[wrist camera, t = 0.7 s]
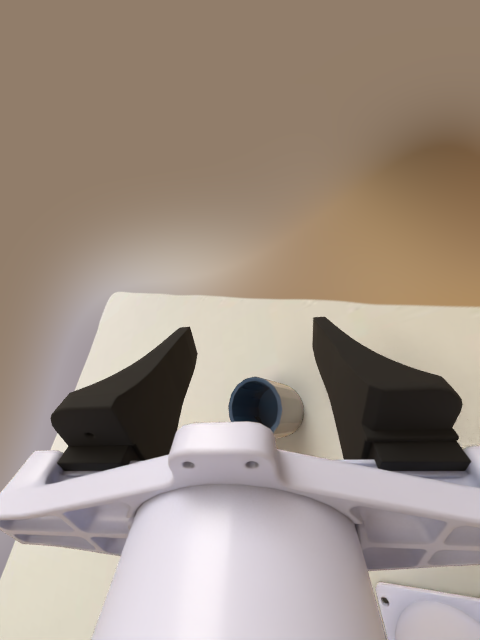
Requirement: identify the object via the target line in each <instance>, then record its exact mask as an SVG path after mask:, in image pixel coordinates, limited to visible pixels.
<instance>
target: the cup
mask: <svg viewBox="0 0 480 640" xmlns="http://www.w3.org/2000/svg"><path fill="white" fill-rule="evenodd" d="M303 416H304V407H303V403H302V400H301V398H300V396H299V395H298V393H297V392H296V391H295V390H294V389H293V388H291V387H289V386H288V385H285V384H281V383H278V382H274V381H271V380H267V379H263V378H259V377H251V378H247V379H245V380H243V381H242V382H241V383H239V384H238V385H237V386H236V388H235V389H234V391H233V392H232V394H231V398H230V402H229V417H230V420H231V422H245V421H249V422H256V423H261V424H262V425H264V426H266V427H268V428H269V429H271V431H272V432H273V434H274V436H275V438H280V437H286V436H288V435H291V434H293V433H294V432H295V431H296V430H297V429H298V428H299V427H300V425H301V423H302V420H303Z"/></svg>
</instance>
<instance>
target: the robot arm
mask: <svg viewBox="0 0 480 640" xmlns="http://www.w3.org/2000/svg"><path fill="white" fill-rule="evenodd" d="M313 351H314V356H315V360H316V363H317V366H318V369H319V372H320V374H321V377H322V380H323V382H324V385H325V388H326V390H327V393H328V396H329V399H330V402H331V406H332V410H333V414H334V418H335V422H336V427H337V431H338V435H339V440H340V444H341V449H342V453H343V458H344V460H331V459H326V458H320V457H315V456H310V455H305V454H300V453H295V452H290V451H285V450H280V449H277V448H276V443H275V436H274V434H273V432H272V431H271V429H269V428H268V427H266V426H264V425H262V424H261V423H256V422H249V421H245V422H205V423H191V424H187V425H183V426H182V427H181V428H180V429H178V430H177V427H178V422H179V418H180V413H181V409H182V405H183V401H184V398H185V395H186V392H187V390H188V387H189V384H190V381H191V378H192V375H193V372H194V369H195V365H196V359H197V350H196V347H195V343H194V340H193V336H192V332H191V329H190V327H182V328H179V329H178V330H176V331H175V332H174V333H173V334H172V335H170V336H169V337H168V338H167V339H166V340H164V341H163V342H162V343H161V344H160V345H159V346H157V347H156V348H155V349H153V350H152V351H151V352H149V353H148V354H147V355H146V356H144V357H143V358H141V359H140V360H138V361H137V362H135V363H134V364H132V365H130V366H129V367H127V368H125V369H123V370H122V371H120V372H118V373H116V374H114V375H112V376H110V377H108V378H106V379H104V380H102V381H99V382H97V383H95V384H92V385H90V386H87V387H85V388H82V389H79V390H77V391H74V392H71V393H69V395H68V396H67V397H66V398H65V399H64V400H63V402H62V403H61V404H60V405H59V406H58V407H57V409H56V410H55V411H54V413H52V415H51V423H52V426H53V427H54V429H55V430H56V431H57V433H58V434H59V435H60V436H61V438H62V439H63V440H64V441H65V442H66V443H67V445H68V448H67V449H66V451H65V452H64V453H63V452H60V451H55V450H52V451H34V452H33V453H32V455H31V456H30V457H29V458H28V459H27V461H26V462H25V463H24V465H23V466H22V467H21V468H20V469H19V471H18V472H17V473H16V475H15V476H14V477H13V478H12V479H11V481H10V482H9V483H8V484H7V486H6V487H5V488H4V489H3V490H2V492H1V493H0V530H1V531H3V532H5V533H6V534H8V535H9V536H11V537H12V538H14V539H15V540H17V541H18V542H20V543H22V544H33V545H47V546H56V547H65V548H72V549H79V550H85V551H91V552H98V553H104V554H110V555H116V556H120V559H119V562H118V565H117V567H116V570H115V573H114V576H113V579H112V581H111V584H110V587H109V590H108V593H107V595H106V598H105V601H104V604H103V606H102V609H101V612H100V615H99V618H98V620H97V623H96V626H95V629H94V632H93V634H92V637H91V640H387V639H388V640H480V598H475V597H469V596H463V595H457V594H451V593H445V592H439V591H433V590H427V589H421V588H414V587H408V586H402V585H396V584H390V583H384V582H378V583H377V584H376V594H377V598H378V602H379V606H380V610H381V614H382V618H383V623H384V627H385V631H386V635H387V639H386V635H385V632H384V628H383V624H382V621H381V617H380V613H379V610H378V606H377V602H376V599H375V595H374V592H373V588H372V584H371V581H370V577H369V573H368V571H377V570H393V569H410V568H427V567H443V566H463V565H480V446H469V447H467V448H464V449H462V448H461V447H460V445H459V444H458V443H457V441H456V440H458V439H459V437H458V435H457V433H456V432H455V431H454V429H453V428H452V427H453V425H454V423H455V421H456V419H457V417H458V416H459V414H460V411H461V408H462V399H461V398H460V396H459V395H458V394H457V393H456V391H455V390H454V389H453V388H452V387H451V386H450V385H449V384H448V383H447V382H446V380H445V379H444V378H442V377H441V376H438V375H434V374H431V373H427V372H424V371H420V370H417V369H414V368H411V367H408V366H406V365H403V364H400V363H398V362H395V361H393V360H391V359H388V358H386V357H384V356H382V355H380V354H378V353H376V352H374V351H372V350H370V349H368V348H367V347H365V346H363V345H361V344H360V343H358V342H357V341H355V340H354V339H352V338H351V337H349V336H348V335H347V334H345V333H344V332H343V331H341V330H340V329H339V328H338V327H336V326H335V325H334V324H333V323H332V322H330V321H329V320H328V319H327V318H326V317H315V318H313ZM382 597H385V598H386V599H387V600H388V602H389V603H387V604H386V603H384V601H383V600H382Z"/></svg>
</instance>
